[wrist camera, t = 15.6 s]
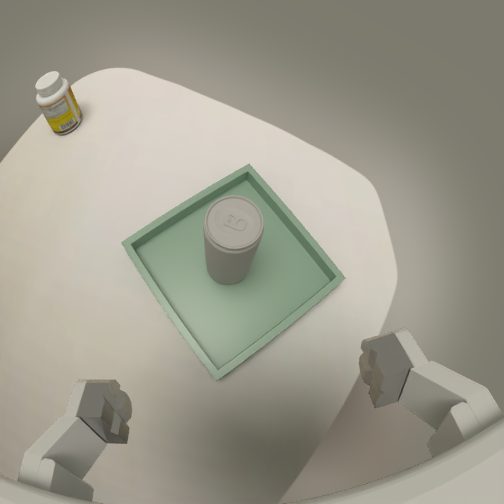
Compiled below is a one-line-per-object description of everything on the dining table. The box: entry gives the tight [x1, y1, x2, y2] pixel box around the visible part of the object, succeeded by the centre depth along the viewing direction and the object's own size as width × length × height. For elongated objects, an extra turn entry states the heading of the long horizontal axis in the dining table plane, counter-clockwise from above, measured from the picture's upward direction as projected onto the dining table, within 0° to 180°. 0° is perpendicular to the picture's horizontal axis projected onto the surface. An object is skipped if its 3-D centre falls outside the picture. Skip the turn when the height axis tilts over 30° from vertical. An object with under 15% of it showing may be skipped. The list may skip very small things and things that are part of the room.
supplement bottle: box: [35, 71, 82, 135], centre depth 35 cm, size 6×6×10 cm
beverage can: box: [203, 195, 264, 284], centre depth 29 cm, size 5×5×12 cm
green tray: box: [121, 164, 345, 381], centre depth 34 cm, size 18×18×3 cm
